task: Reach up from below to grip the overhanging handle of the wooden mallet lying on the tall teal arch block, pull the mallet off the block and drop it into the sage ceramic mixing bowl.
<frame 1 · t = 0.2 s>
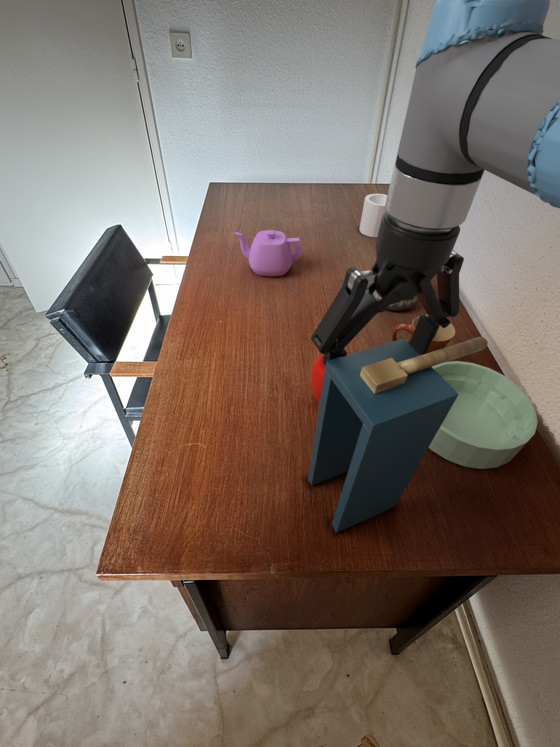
hand: (374, 369, 51), 22 cm above the table, tool pointing down, fingers open, 13 cm apart
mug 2: (375, 230, 131), on the table
wooden mallet: (430, 359, 43), point 29 cm above the table, touching teal arch block
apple: (329, 400, 76), on the table
bowl: (460, 423, 72), on the table
teal arch block: (350, 492, 62), on the table
teapot: (268, 267, 112), on the table
mug: (411, 361, 84), on the table
planter: (391, 300, 101), on the table
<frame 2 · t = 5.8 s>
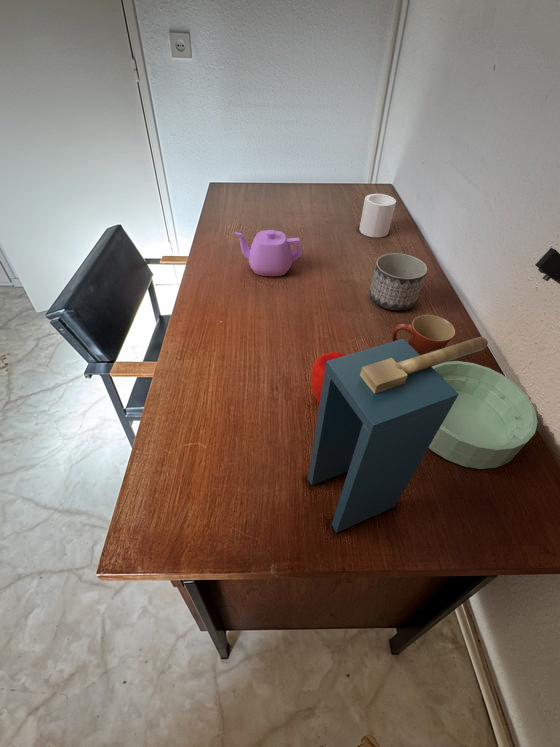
nothing on the table moved.
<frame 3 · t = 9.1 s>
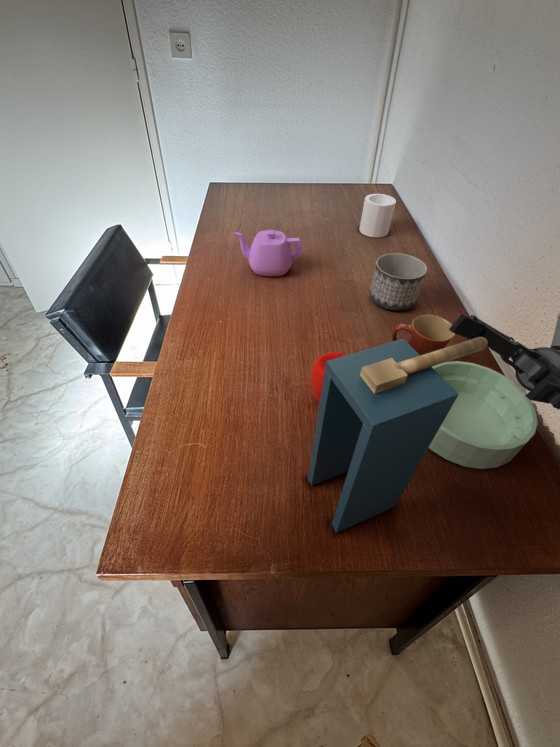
hand: (493, 353, 48), 26 cm above the table, tool pointing upward, fingers open, 13 cm apart
nothing on the table moved.
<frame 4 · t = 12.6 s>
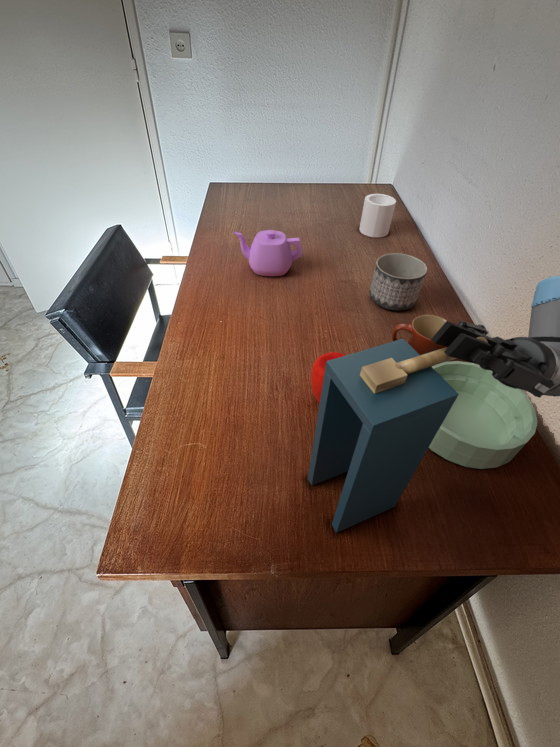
hand: (447, 338, 41), 32 cm above the table, tool pointing upward, fingers closed on wooden mallet, 1 cm apart
wooden mallet: (430, 359, 43), point 29 cm above the table, touching gripper
everything else where it was.
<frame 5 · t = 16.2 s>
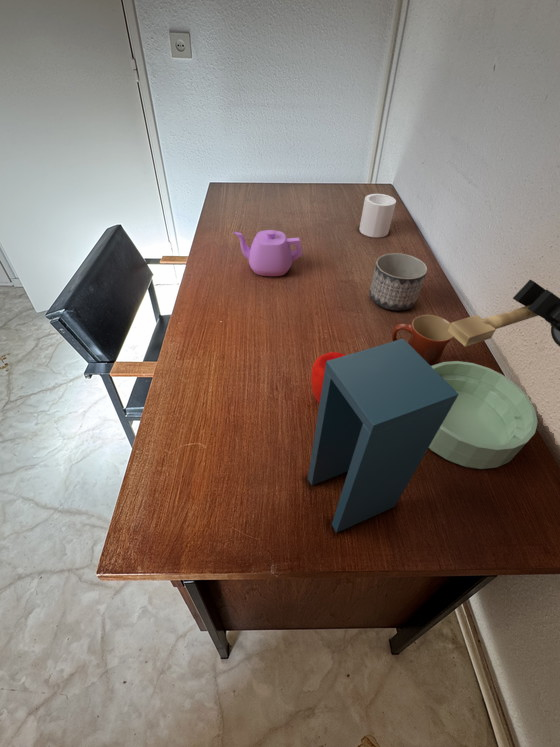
hand: (531, 295, 44), 34 cm above the table, tool pointing upward, fingers closed on wooden mallet, 1 cm apart
wooden mallet: (512, 317, 45), point 31 cm above the table, touching gripper
everything else where it was.
when the fingers open (22 cm above the table, at t = 20.2 s): wooden mallet drops 16 cm, resting on bowl.
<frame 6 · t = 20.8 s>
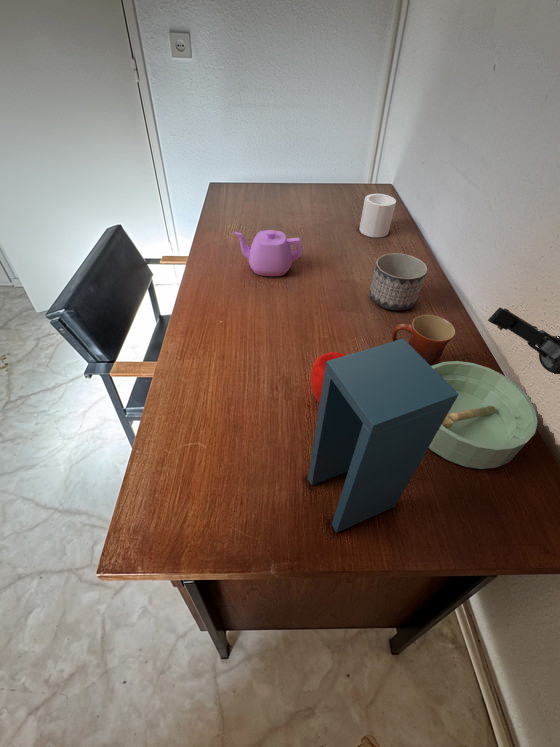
hand: (525, 337, 58), 21 cm above the table, tool pointing upward, fingers open, 12 cm apart
wooden mallet: (464, 415, 70), point 3 cm above the table, tilted 12°, touching bowl
everything else where it was.
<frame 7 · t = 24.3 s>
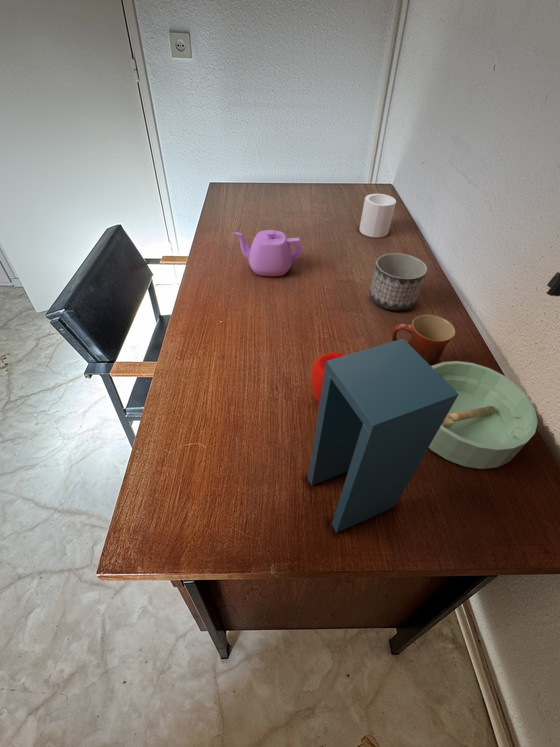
nothing on the table moved.
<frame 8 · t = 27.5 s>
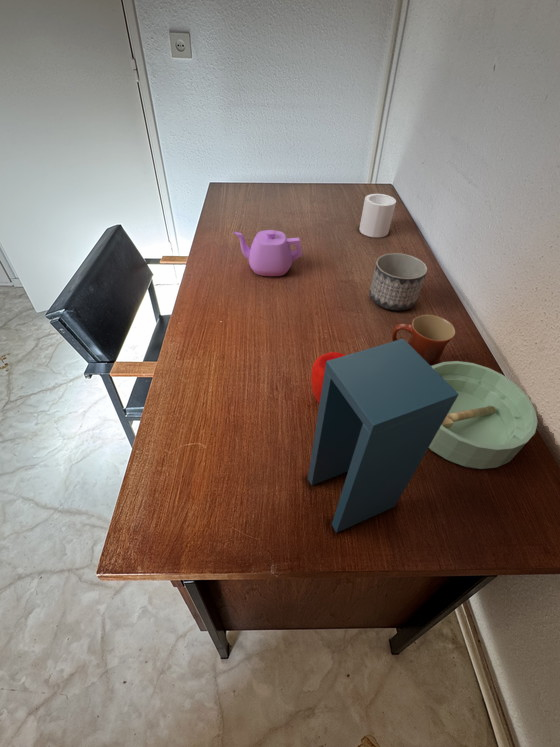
nothing on the table moved.
at the end: wooden mallet inside the target area in the bowl (0.7 cm from its centre), point 3.2 cm above the bowl's base; the gripper is holding nothing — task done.
